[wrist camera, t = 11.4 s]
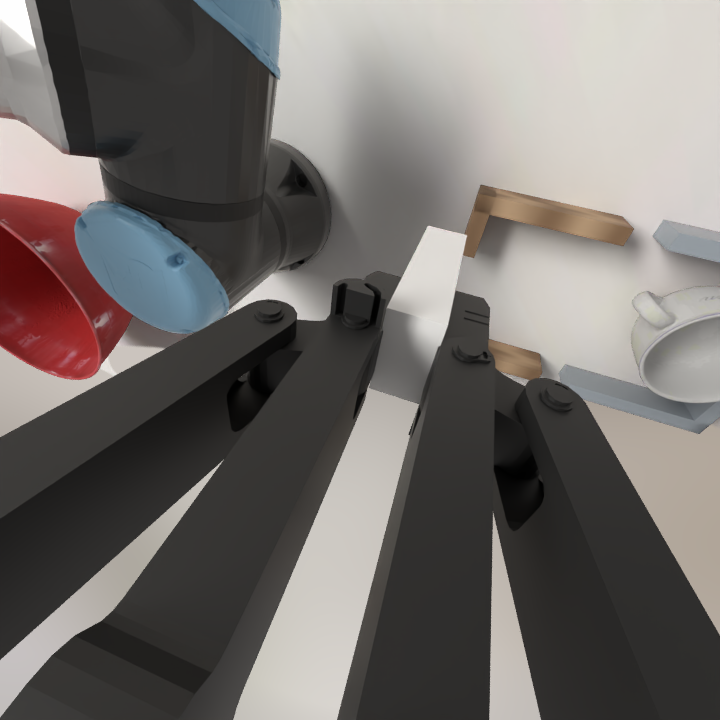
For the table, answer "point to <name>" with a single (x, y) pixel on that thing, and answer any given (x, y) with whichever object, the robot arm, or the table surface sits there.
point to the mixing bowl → (52, 292)
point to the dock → (639, 397)
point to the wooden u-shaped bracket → (543, 216)
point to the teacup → (679, 343)
